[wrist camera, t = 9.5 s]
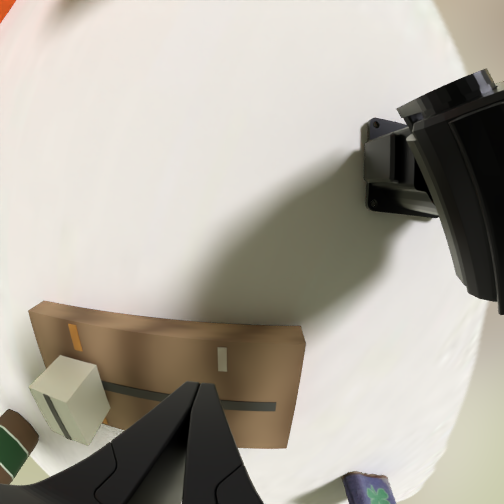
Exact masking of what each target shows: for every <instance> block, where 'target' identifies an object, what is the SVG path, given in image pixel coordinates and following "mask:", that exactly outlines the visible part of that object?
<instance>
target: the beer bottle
mask: <svg viewBox="0 0 504 504" xmlns="http://www.w3.org/2000/svg"><path fill="white" fill-rule="evenodd" d="M38 437H39V435H38V434H37V433H36V431H35V430H34V429H33V427H32V426H31V424H30V423H29V422H27V421H26V420H25V419H24V418H23V417H22V416H21V415H20V414H19V413H17V412H15V411H13V410H10V409H8V410H7V411H6V412H5V413H4V414H3V415H2V416H1V417H0V484H8V485H9V484H10V483H11V482H12V481H13V479H14V478H15V476H16V475H17V473H18V471H19V470H20V469H21V467H22V466H23V464H24V462H25V461H26V459H27V458H28V457H29V455H30V454H31V452H32V451H33V449H34V448H35V446H36V444H37V443H38Z"/></svg>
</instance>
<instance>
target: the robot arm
mask: <svg viewBox="0 0 504 504" xmlns="http://www.w3.org/2000/svg"><path fill="white" fill-rule="evenodd" d="M397 111H398V113H399V114H400V116H401V118H404V120H405V122H406V124H407V125H405V124H401V123H397V122H393V121H388V120H384V119H379V118H373V119H371V120H369V122H368V141H367V142H366V143H365V158H364V180H365V181H366V182H367V186H366V207H367V208H368V209H369V210H371V211H378V212H388V213H397V214H406V215H414V216H423V217H431V218H438V217H439V218H440V221H441V224H442V227H443V230H444V233H445V236H446V239H447V242H448V246H449V249H450V253H451V256H452V260H453V264H454V268H455V272H456V275H457V276H458V278H459V279H460V280H461V281H462V283H463V284H464V285H465V286H466V287H467V292H468V293H469V294H471V295H473V296H475V297H477V298H479V299H484V300H489V301H493V302H498V312H499V314H500V315H504V81H503V82H500V83H497V84H495V83H494V81H493V79H492V78H491V76H490V74H489V72H488V70H487V69H484V70H481V71H478V72H476V73H473V74H471V75H468V76H466V77H463V78H461V79H458V80H456V81H454V82H451V83H449V84H447V85H444V86H442V87H440V88H438V89H436V90H433V91H431V92H429V93H427V94H425V95H423V96H421V97H419V98H417V99H415V100H413V101H411V102H409V103H407V104H405V105H403V106H401V107H399V108H397ZM373 122H375V123H376V124H377V128H375V127H374V126H373ZM372 200H374V201H375V206H374V207H372V206H371V201H372ZM181 501H182V504H264V503H263V501H262V500H261V498H260V496H259V495H258V493H257V491H256V489H255V487H254V485H253V483H252V481H251V479H250V477H249V475H248V472H247V470H246V468H245V466H244V463H243V461H242V458H241V456H240V453H239V450H238V448H237V445H236V443H235V440H234V437H233V435H232V432H231V429H230V427H229V424H228V421H227V418H226V415H225V413H224V410H223V407H222V404H221V401H220V398H219V395H218V392H217V389H216V386H215V384H213V383H201V384H200V383H199V382H194V381H186V382H185V383H183V384H182V385H181V386H180V387H179V388H177V389H176V390H175V391H174V392H173V393H171V394H170V395H169V396H168V397H167V398H165V399H164V400H163V401H162V402H160V403H159V404H158V405H157V406H156V407H154V408H153V409H152V410H151V411H149V412H148V413H147V414H146V415H144V416H143V417H142V418H141V419H139V420H138V421H137V422H135V423H134V424H133V425H132V426H130V427H129V428H128V429H126V430H125V431H124V432H122V433H121V434H120V435H118V436H117V437H116V438H115V439H113V440H112V441H111V443H110V442H109V443H108V444H106V445H105V446H104V447H102V448H101V449H99V450H98V451H96V452H95V453H93V454H92V455H90V456H89V457H87V458H86V459H84V460H82V461H80V462H79V463H77V464H75V465H73V466H71V467H69V468H67V469H65V470H63V471H61V472H59V473H57V474H55V475H53V476H51V477H49V478H47V479H45V480H42V481H40V482H37V483H34V484H30V485H21V486H19V485H18V486H17V485H8V484H0V504H181Z"/></svg>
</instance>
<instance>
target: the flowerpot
mask: <svg viewBox="0 0 504 504" xmlns="http://www.w3.org/2000/svg"><path fill="white" fill-rule="evenodd" d="M15 1H16V0H0V23H1V22H2V20H3V19H4V17H5V16H6V14H7V13H8V12H9V10H10V9H11V7H12V6H13V4H14V3H15Z"/></svg>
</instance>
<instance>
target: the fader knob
mask: <svg viewBox="0 0 504 504" xmlns="http://www.w3.org/2000/svg"><path fill="white" fill-rule="evenodd" d="M29 389H30V391H31V393H32V395H33V397H34V399H35V401H36V403H37V405H38V407H39V409H40V411H41V413H42V414H43V416H44V418H45V420H46V422H47V423H48V425H49V427H50V428H51V430H52V431H54V432H56V433H58V434H60V435H63V436H65V437H66V438H67V439H70V440H75V441H77V442H80V443H82V444H85V445H87V446H89V445H90V443H91V441H92V439H93V437H94V436H95V434H96V432H97V430H98V429H99V427H100V425H101V424H102V422H103V420H104V418H105V417H106V415H107V413H108V412H109V410H110V405H109V402H108V400H107V397H106V394H105V391H104V388H103V385H102V382H101V379H100V376H99V372H98V369H97V366H96V365H95V364H91V363H87V362H83V361H79V360H76V359H72V358H69V357H65V356H62V355H60V356H59V357H58V358H57V359H56V360H55V361H54V362H53V363H52V364H51V365H50V366H49V367H48V368H47V369H46V370H45V371H44V372H43V373H42V374H41V375H40V376H39V377H38V378H37V379H36V380H35V381H34V382H33V383H32V384H31V385H30V386H29Z"/></svg>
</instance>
